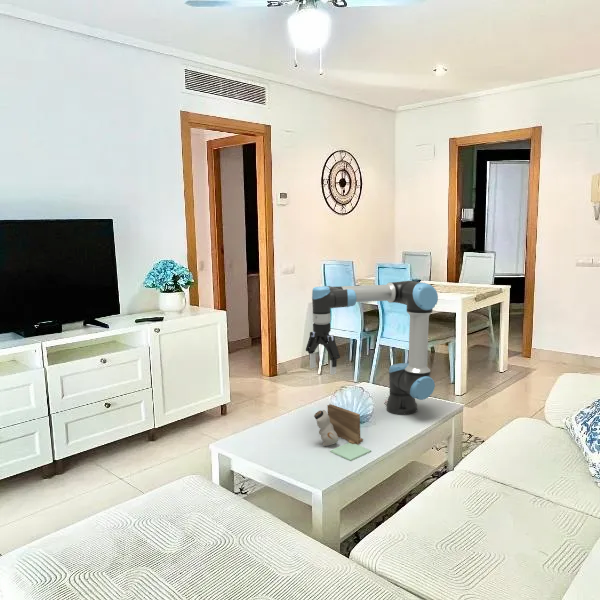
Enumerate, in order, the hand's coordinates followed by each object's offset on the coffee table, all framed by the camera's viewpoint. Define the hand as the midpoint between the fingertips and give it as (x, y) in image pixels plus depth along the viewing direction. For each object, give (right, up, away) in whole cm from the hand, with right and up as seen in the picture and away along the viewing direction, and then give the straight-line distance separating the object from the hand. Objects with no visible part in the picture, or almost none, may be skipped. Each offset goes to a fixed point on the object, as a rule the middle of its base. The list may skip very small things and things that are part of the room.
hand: (322, 370), depth 234 cm
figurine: (+2, -31, -3) cm, 32 cm away
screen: (+10, -30, +3) cm, 32 cm away
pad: (+11, -32, -11) cm, 36 cm away
